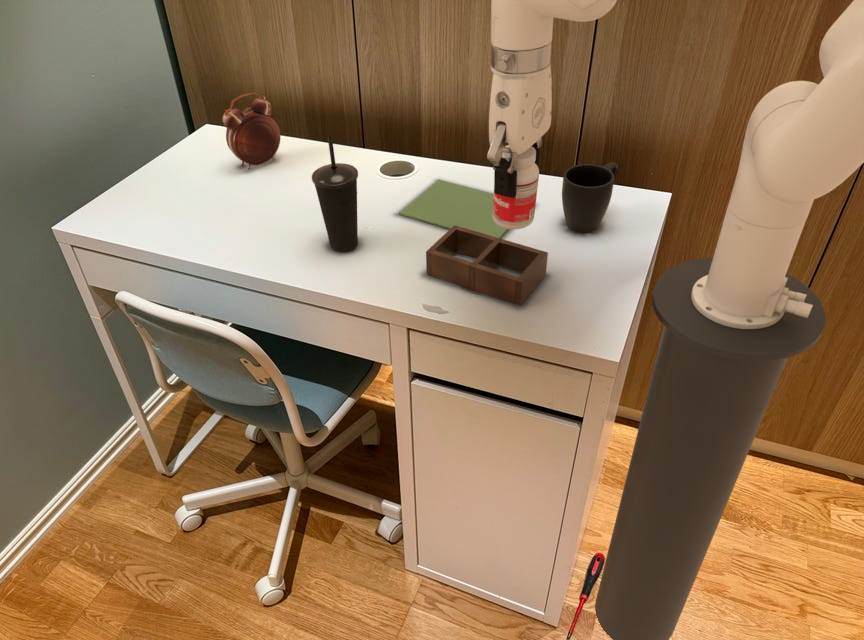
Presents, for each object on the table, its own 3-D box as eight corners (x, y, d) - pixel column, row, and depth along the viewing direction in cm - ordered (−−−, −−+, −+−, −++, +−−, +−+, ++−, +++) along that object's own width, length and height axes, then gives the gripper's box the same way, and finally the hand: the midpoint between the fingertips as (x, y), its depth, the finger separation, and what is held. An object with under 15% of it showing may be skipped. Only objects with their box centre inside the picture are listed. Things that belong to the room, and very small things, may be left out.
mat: (532, 205, 131) (532, 203, 130) (495, 243, 122) (495, 241, 122) (438, 181, 140) (438, 179, 139) (399, 214, 132) (399, 212, 131)
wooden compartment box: (545, 275, 114) (548, 252, 111) (520, 305, 109) (521, 282, 106) (454, 247, 122) (454, 224, 119) (426, 274, 117) (425, 251, 114)
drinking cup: (349, 228, 129) (336, 122, 116) (374, 245, 125) (363, 137, 111) (314, 244, 126) (296, 137, 113) (338, 262, 122) (322, 153, 108)
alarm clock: (275, 152, 155) (262, 83, 144) (286, 159, 151) (273, 89, 141) (230, 168, 150) (213, 98, 140) (240, 176, 147) (224, 105, 137)
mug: (629, 215, 126) (638, 166, 119) (586, 243, 120) (594, 193, 114) (591, 199, 131) (597, 151, 124) (548, 225, 125) (553, 176, 119)
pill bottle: (486, 212, 108) (490, 144, 100) (524, 205, 109) (531, 137, 101) (500, 234, 104) (506, 164, 96) (540, 226, 104) (548, 157, 97)
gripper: (516, 85, 83) (512, 218, 95) (577, 36, 93) (566, 163, 105) (460, 76, 87) (463, 206, 99) (524, 30, 97) (520, 153, 109)
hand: (516, 183), depth 102 cm, fingers closed on pill bottle, 6 cm apart
